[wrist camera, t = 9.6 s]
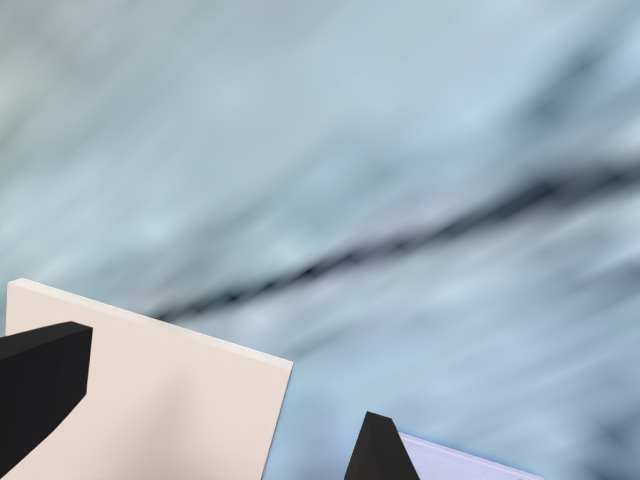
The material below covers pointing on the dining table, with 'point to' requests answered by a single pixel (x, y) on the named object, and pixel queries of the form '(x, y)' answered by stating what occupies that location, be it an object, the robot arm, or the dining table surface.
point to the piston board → (152, 398)
